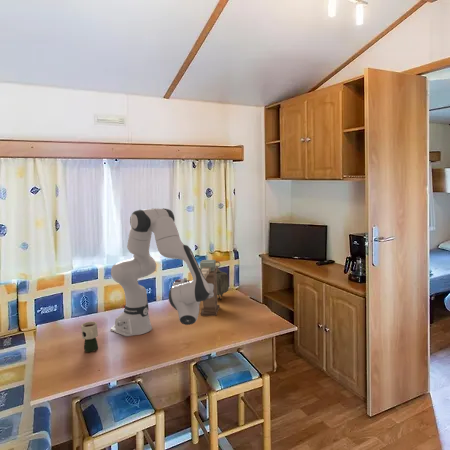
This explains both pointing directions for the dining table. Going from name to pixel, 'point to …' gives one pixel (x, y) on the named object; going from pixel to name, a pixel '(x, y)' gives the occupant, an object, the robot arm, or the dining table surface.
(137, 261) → the robot arm
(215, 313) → the walnut shelf
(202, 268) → the mallet
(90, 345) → the character mug
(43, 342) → the dining table surface
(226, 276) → the tabletop clock
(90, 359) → the dining table surface
